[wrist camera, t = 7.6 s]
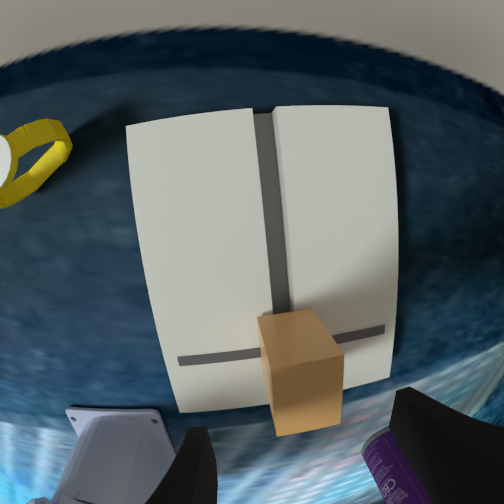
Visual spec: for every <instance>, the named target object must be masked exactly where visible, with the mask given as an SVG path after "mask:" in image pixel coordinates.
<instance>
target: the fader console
mask: <svg viewBox="0 0 504 504" xmlns="http://www.w3.org/2000/svg"><path fill="white" fill-rule="evenodd" d="M126 137H127V149H128V160H129V170H130V179H131V188H132V196H133V204H134V211H135V218H136V225H137V231H138V238H139V244H140V250H141V255H142V261H143V266H144V272H145V277H146V282H147V287H148V292H149V297H150V302H151V306H152V311H153V315H154V320H155V324H156V328H157V332H158V336H159V340H160V344H161V348H162V352H163V356H164V360H165V364H166V367H167V371H168V375H169V378H170V382H171V385H172V389H173V392H174V395H175V399H176V402H177V405H178V408H179V412H180V413H188V412H202V411H214V410H225V409H234V408H243V407H250V406H258V405H265V404H269V400H268V395H267V391H266V386H265V382H264V377H263V368H262V359H261V350H260V341H259V332H258V323H257V317H259V316H267V315H274V314H281V313H287V312H294V311H300V310H307V309H313V311H314V312H315V313H316V315H317V316H318V318H319V319H320V320H321V322H322V323H323V325H324V326H325V328H326V329H327V330H328V332H329V333H330V335H331V336H332V337H333V339H334V340H335V342H336V343H337V345H338V346H339V347H340V349H341V350H342V352H343V353H344V379H343V389H347V388H351V387H355V386H359V385H363V384H367V383H371V382H374V381H378V380H382V379H385V378H388V377H389V376H390V369H391V361H392V353H393V343H394V333H395V321H396V307H397V288H398V206H397V187H396V173H395V161H394V151H393V142H392V133H391V125H390V118H389V111H388V107H371V106H341V105H309V106H278V107H275V109H274V110H273V112H272V113H263V114H253V111H252V108H247V109H236V110H226V111H216V112H208V113H200V114H193V115H185V116H179V117H172V118H166V119H160V120H155V121H149V122H144V123H139V124H134V125H129V126H126Z"/></svg>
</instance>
